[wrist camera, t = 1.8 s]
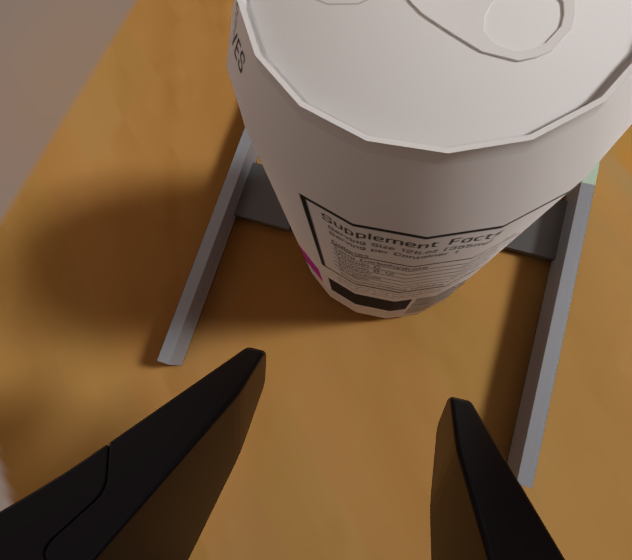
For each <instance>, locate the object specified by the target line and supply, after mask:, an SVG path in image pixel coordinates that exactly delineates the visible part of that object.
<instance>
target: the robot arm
mask: <svg viewBox="0 0 632 560" xmlns="http://www.w3.org/2000/svg"><path fill="white" fill-rule="evenodd" d="M265 370H266V353H265V352H264V351H262V350H258V349H254V348H246V349H244V350H242V351H241V352H240V353H238V354H237V355H235V356H234V357H232V358H231V359H230V360H228V361H227V362H225V363H224V364H222V365H221V366H219V367H218V368H217V369H215V370H214V371H212V372H211V373H209V374H208V375H206V376H205V377H204V378H202V379H201V380H199V381H198V382H196V383H195V384H194V385H192V386H191V387H189V388H188V389H186V390H185V391H183V392H182V393H181V394H179V395H178V396H176V397H175V398H173V399H172V400H170V401H169V402H168V403H166V404H165V405H163V406H162V407H160V408H159V409H158V410H156V411H155V412H153V413H152V414H150V415H149V416H147V417H146V418H145V419H143V420H142V421H140V422H139V423H137V424H136V425H135V426H133V427H132V428H130V429H129V430H127V431H126V432H124V433H123V434H122V435H120V436H119V437H117V438H116V439H114V440H113V441H111V442H110V444H109V446H108V445H106V446H104V447H103V448H101V449H100V450H98V451H97V452H95V453H94V454H92V455H91V456H90V457H88V458H87V459H85V460H84V461H82V462H81V463H79V464H78V465H76V466H75V467H73V468H72V469H70V470H69V471H67V472H66V473H64V474H63V475H61V476H60V477H58V478H56V479H55V480H53V481H51V482H50V483H48V484H46V485H45V486H43V487H41V488H40V489H38V490H36V491H35V492H33V493H31V494H30V495H28V496H26V497H25V498H23V499H21V500H20V501H18V502H16V503H14V504H13V505H11V506H9V507H8V508H6V509H4V510H2V511H1V512H0V560H188V559H189V557H190V555H191V553H192V551H193V549H194V547H195V545H196V543H197V541H198V539H199V536H200V534H201V532H202V530H203V528H204V526H205V524H206V522H207V520H208V518H209V516H210V514H211V512H212V510H213V508H214V506H215V504H216V502H217V500H218V498H219V495H220V493H221V491H222V489H223V487H224V485H225V483H226V481H227V479H228V477H229V475H230V473H231V471H232V469H233V467H234V465H235V463H236V460H237V458H238V456H239V454H240V451H241V449H242V446H243V443H244V441H245V438H246V435H247V432H248V429H249V427H250V424H251V421H252V418H253V415H254V412H255V410H256V407H257V404H258V401H259V398H260V395H261V392H262V390H263V386H264V382H265ZM430 526H431V560H565V559H564V557H563V556H562V554H561V552H560V550H559V549H558V547H557V545H556V544H555V542H554V540H553V539H552V537H551V535H550V534H549V532H548V530H547V529H546V527H545V525H544V524H543V522H542V520H541V519H540V517H539V515H538V514H537V512H536V510H535V509H534V507H533V505H532V503H531V502H530V500H529V498H528V497H527V495H526V493H525V492H524V490H523V488H522V487H521V485H520V483H519V482H518V480H517V478H516V477H515V475H514V473H513V472H512V470H511V468H510V467H509V465H508V463H507V462H506V460H505V458H504V456H503V455H502V453H501V451H500V450H499V448H498V446H497V445H496V443H495V441H494V440H493V438H492V436H491V435H490V433H489V431H488V430H487V428H486V426H485V425H484V423H483V421H482V420H481V418H480V416H479V415H478V413H477V411H476V409H475V408H474V406H473V405H472V403H471V402H469V401H467V400H463V399H459V398H455V397H451V398H449V399H448V401H447V403H446V405H445V408H444V410H443V413H442V415H441V418H440V421H439V423H438V427H437V434H436V444H435V455H434V467H433V478H432V489H431V503H430Z"/></svg>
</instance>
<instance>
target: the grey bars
mask: <svg viewBox="0 0 632 560" xmlns="http://www.w3.org/2000/svg"><path fill="white" fill-rule="evenodd" d="M257 158H258V154H257V152H256V149H255V147H254V145H253V143H252V141H251V138H250V136H249V134H248V132H247V130H246V127H245V128H244V131H243V134H242V136H241V139H240V142H239V144H238V147H237V150H236V152H235V155H234V158H233V160H232V163H231V166H230V168H229V171H228V174H227V176H226V179H225V182H224V184H223V187H222V190H221V192H220V195H219V197H218V200H217V203H216V205H215V208H214V211H213V213H212V216H211V219H210V221H209V224H208V227H207V229H206V232H205V235H204V237H203V240H202V243H201V245H200V248H199V251H198V253H197V256H196V259H195V261H194V264H193V267H192V269H191V272H190V274H189V277H188V280H187V282H186V285H185V288H184V290H183V293H182V296H181V298H180V301H179V304H178V306H177V309H176V312H175V314H174V317H173V320H172V322H171V325H170V328H169V330H168V333H167V336H166V338H165V341H164V343H163V346H162V349H161V351H160V354H159V357H158V359H157V361H159V362H162V363H165V364H168V365H182V363H183V361H184V358H185V355H186V352H187V350H188V347H189V344H190V341H191V339H192V336H193V333H194V330H195V328H196V325H197V322H198V320H199V317H200V314H201V311H202V309H203V306H204V303H205V300H206V298H207V295H208V292H209V289H210V287H211V284H212V281H213V279H214V276H215V273H216V270H217V268H218V265H219V262H220V259H221V257H222V254H223V251H224V248H225V246H226V243H227V240H228V237H229V235H230V232H231V229H232V227H233V224H234V221H235V218H236V217H238V218H242V219H245V220H249V221H253V222H256V223H260V224H264V225H267V226H271V227H274V228H278V229H282V230H285V231H289V232H290V230H291V226H290V224H289V222H288V220H287V218H286V215H285V213H284V211H283V209H282V207H281V204H280V202H279V200H278V198H277V196H276V193H275V191H274V189H273V187H272V185H271V182H270V180H269V178H268V176H267V174H266V171H265V169H264V167H263V165H262V164H258V163H256V161H257ZM599 164H600V161H599V162H598V163H597V164H596V166H595V167H594V168H593V169H592V170H591V171H590V172H589V174H588V175H587V176H586V177H585V178H584V179H583V180H582V181H581V182H580V183H578V184H577V185H576V186H575V187H574V188H573V189H571V190H570V191H569V192H568V193H567V194H566V198H565V201H564V200H559V201H558V202H557V203H555V204H554V205H553V206H552V207H551V208H550V209H548V210H547V211H546V212H545V213H544V214H543V215H542V216H540V217H539V218H538V219H537V220H536V221H535V222H533V223H532V224H531V225H530V226H529V227H528V228H527V229H525V230H524V231H523V232H522V233H521V234H520V235H518V236H517V237H516V238H515V239H514V240H513V241H512V242H510V243H509V244H508V245H507V246H506V247H505V248H504V249H505V250H509V251H513V252H516V253H520V254H524V255H528V256H532V257H536V258H539V259H543V260H547V261H551V266H550V270H549V275H548V279H547V284H546V289H545V293H544V298H543V302H542V307H541V311H540V316H539V320H538V325H537V329H536V334H535V338H534V343H533V348H532V352H531V357H530V361H529V366H528V370H527V375H526V379H525V384H524V388H523V393H522V397H521V402H520V407H519V411H518V416H517V420H516V425H515V429H514V434H513V438H512V443H511V447H510V452H509V456H508V461H507V463H508V465H509V467H510V468H511V470H512V472H513V473H514V475H515V477H516V478H517V480H518V482H519V483H520V485H523V486H526V487H529V488H532V486H533V481H534V476H535V472H536V467H537V462H538V457H539V452H540V448H541V443H542V438H543V433H544V428H545V424H546V419H547V414H548V409H549V404H550V400H551V395H552V390H553V385H554V380H555V375H556V371H557V366H558V361H559V356H560V351H561V347H562V342H563V337H564V332H565V327H566V323H567V318H568V313H569V308H570V303H571V299H572V294H573V289H574V284H575V279H576V275H577V270H578V265H579V260H580V255H581V251H582V246H583V241H584V236H585V231H586V227H587V222H588V217H589V212H590V207H591V203H592V198H593V193H594V188H595V183H596V179H597V174H598V169H599Z"/></svg>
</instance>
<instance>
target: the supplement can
mask: <svg viewBox="0 0 632 560" xmlns="http://www.w3.org/2000/svg"><path fill="white" fill-rule="evenodd" d="M227 69H228V73H229V76H230V79H231V82H232V86H233V89H234V92H235V96H236V99H237V102H238V105H239V109H240V112H241V115H242V119H243V122H244V125H245V127H246V130H247V132H248V134H249V136H250V138H251V141H252V143H253V145H254V147H255V149H256V152H257V154H258V156H259V158H260V160H261V163H262V165H263V167H264V169H265V171H266V174H267V176H268V178H269V180H270V182H271V185H272V187H273V189H274V191H275V193H276V196H277V198H278V200H279V202H280V204H281V207H282V209H283V211H284V213H285V215H286V218H287V220H288V222H289V224H290V226H291V229H292V231H293V233H294V235H295V237H296V240H297V242H298V244H299V246H300V248H301V251H302V253H303V255H304V257H305V260H306V262H307V264H308V266H309V268H310V271H311V273H312V274H313V276H314V277H315V278H316V279H317V281H318V282H319V283H320V284H321V286H322V287H323V288H324V289H325V291H326V292H327V293H328V295H329V296H330V297H332V298H333V299H335V300H337V301H338V302H340V303H342V304H343V305H345V306H346V307H348V308H350V309H351V310H353V311H355V312H357V313H362V314H367V315H371V316H376V317H381V318H386V319H387V318H394V317H401V316H408V315H415V314H419V313H420V312H422V311H424V310H426V309H428V308H430V307H432V306H434V305H436V304H437V303H439V302H441V301H443V300H445V299H446V298H447V297H448V296H449V295H451V294H452V293H453V292H454V291H455V290H456V289H457V288H459V287H460V286H461V285H462V284H463V283H464V282H465V281H467V280H468V279H469V278H470V277H471V276H472V275H474V274H475V273H476V272H477V271H478V270H479V269H480V268H482V267H483V266H484V265H485V264H486V263H487V262H489V261H490V260H491V259H492V258H493V257H494V256H495V255H497V254H498V253H499V252H500V251H501V250H502V249H504V248H505V247H506V246H507V245H508V244H509V243H510V242H512V241H513V240H514V239H515V238H516V237H517V236H518V235H520V234H521V233H522V232H523V231H524V230H525V229H527V228H528V227H529V226H530V225H531V224H532V223H533V222H535V221H536V220H537V219H538V218H539V217H540V216H542V215H543V214H544V213H545V212H546V211H547V210H548V209H550V208H551V207H552V206H553V205H554V204H555V203H557V202H558V201H559V200H560V199H561V198H562V197H563V196H565V195H566V194H567V193H568V192H569V191H570V190H571V189H573V188H574V187H575V186H576V185H577V184H578V183H580V182H581V181H582V180H583V179H584V178H585V177H586V176H587V175H588V174H589V172H590V171H591V170H592V169H593V168H594V167H595V166H596V164H597V163H598V162H599V161H600V160H601V159H602V158H603V156H604V155H605V154H606V153H607V152H608V151H609V149H610V148H611V147H612V146H613V145H614V144H615V143H616V141H617V140H618V139H619V138H620V137H621V136H622V135H623V133H624V132H625V131H626V130H627V129H628V128H629V126H630V125H631V124H632V0H234V4H233V9H232V19H231V28H230V38H229V48H228V57H227Z"/></svg>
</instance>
